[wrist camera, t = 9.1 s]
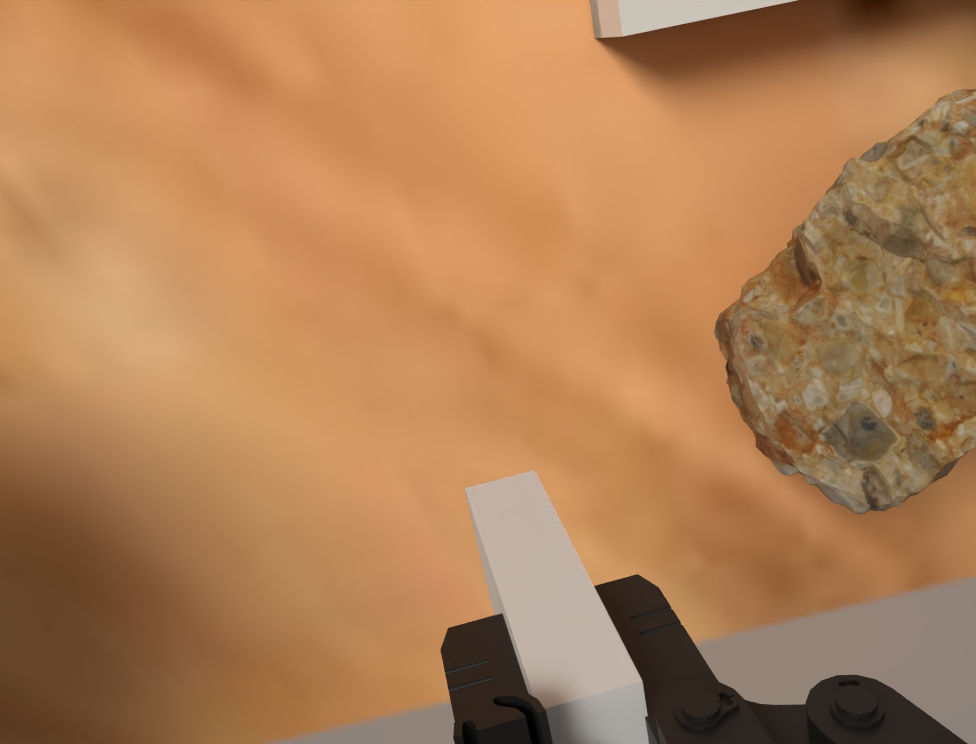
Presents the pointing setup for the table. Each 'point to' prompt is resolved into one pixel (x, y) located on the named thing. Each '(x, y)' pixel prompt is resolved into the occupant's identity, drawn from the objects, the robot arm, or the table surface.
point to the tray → (662, 13)
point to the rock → (870, 322)
